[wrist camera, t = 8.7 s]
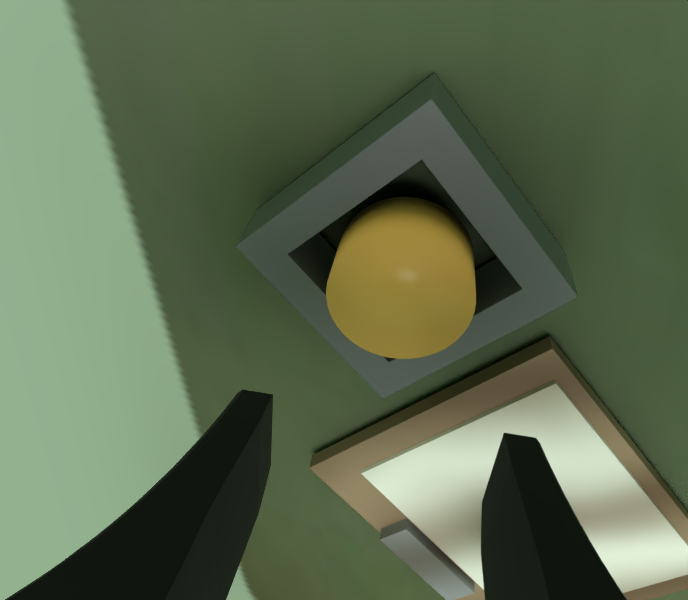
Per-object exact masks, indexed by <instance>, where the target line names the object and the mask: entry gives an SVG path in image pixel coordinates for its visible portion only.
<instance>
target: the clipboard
mask: <svg viewBox="0 0 688 600" xmlns="http://www.w3.org/2000/svg"><path fill="white" fill-rule="evenodd" d="M504 433H510V434H516V435H522V436H528V437H534V438H536V439H537V440H538V441H539V442H540V444H541V446H542V449H543V451H544V453H545V455H546V457H547V460H548V462H549V464H550V466H551V468H552V470H553V472H554V474H555V476H556V478H557V480H558V482H559V484H560V486H561V488H562V490H563V492H564V494H565V496H566V498H567V500H568V502H569V504H570V506H571V508H572V509H573V511H574V513H575V515H576V517H577V519H578V520H579V522H580V524H581V526H582V527H583V529H584V531H585V533H586V534H587V536H588V538H589V540H590V542H591V543H592V545H593V547H594V548H595V550H596V552H597V553H598V555H599V557H600V558H601V560H602V562H603V563H604V565H605V566H606V568H607V570H608V571H609V573H610V574H611V576H612V577H613V579H614V581H615V582H616V584H617V585H618V587H619V588H620V590H621V591H622V593H623V594H624V596H625V597H626V599H627V600H650V599H653V598H657V597H660V596H664V595H668V594H671V593H675V592H678V591H682V590H686V589H688V511H687V510H686V509H685V507H684V506H683V505H682V504H681V502H680V501H679V500H678V498H677V497H676V496H675V495H674V493H673V492H672V491H671V490H670V488H669V487H668V486H667V484H666V483H665V482H664V481H663V479H662V478H661V477H660V476H659V474H658V473H657V472H656V470H655V469H654V468H653V467H652V465H651V464H650V463H649V462H648V460H647V459H646V458H645V456H644V455H643V454H642V453H641V451H640V450H639V449H638V448H637V446H636V445H635V444H634V442H633V441H632V440H631V439H630V437H629V436H628V435H627V434H626V432H625V431H624V430H623V428H622V427H621V426H620V425H619V423H618V422H617V421H616V420H615V418H614V417H613V416H612V414H611V413H610V412H609V411H608V409H607V408H606V407H605V406H604V404H603V403H602V402H601V400H600V399H599V398H598V397H597V395H596V394H595V393H594V392H593V390H592V389H591V388H590V386H589V385H588V384H587V383H586V381H585V380H584V379H583V378H582V376H581V375H580V374H579V372H578V371H577V370H576V369H575V367H574V366H573V365H572V364H571V362H570V361H569V360H568V358H567V357H566V356H565V355H564V353H563V352H562V351H561V350H560V348H559V347H558V346H557V344H556V343H555V342H554V341H553V339H552V338H551V337H550V336H549V337H547V338H545V339H543V340H541V341H539V342H537V343H535V344H533V345H531V346H529V347H527V348H525V349H523V350H521V351H519V352H517V353H515V354H513V355H511V356H509V357H507V358H505V359H503V360H501V361H499V362H497V363H495V364H493V365H491V366H489V367H487V368H485V369H483V370H481V371H479V372H478V373H476V374H474V375H472V376H470V377H468V378H466V379H464V380H462V381H460V382H458V383H456V384H454V385H452V386H450V387H448V388H446V389H444V390H442V391H440V392H438V393H436V394H434V395H432V396H430V397H428V398H426V399H424V400H422V401H420V402H418V403H416V404H414V405H412V406H410V407H408V408H406V409H404V410H402V411H400V412H398V413H396V414H394V415H392V416H390V417H388V418H386V419H384V420H382V421H380V422H378V423H376V424H374V425H372V426H370V427H368V428H366V429H364V430H362V431H360V432H358V433H356V434H354V435H352V436H350V437H348V438H346V439H344V440H342V441H340V442H338V443H336V444H334V445H332V446H330V447H328V448H326V449H324V450H322V451H320V452H318V453H316V454H314V455H312V459H311V463H310V467H309V468H310V469H311V470H312V471H313V472H314V473H315V474H316V475H317V476H319V477H320V478H321V479H322V480H323V481H324V482H325V483H326V484H327V485H328V486H330V487H331V488H332V489H333V490H334V491H335V492H336V493H337V494H338V495H339V496H341V497H342V498H343V499H344V500H345V501H346V502H347V503H348V504H349V505H350V506H351V507H353V508H354V509H355V510H356V511H357V512H358V513H359V514H360V515H361V516H362V517H364V518H365V519H366V520H367V521H368V522H369V523H370V524H371V525H372V526H373V527H374V528H376V529H377V530H378V531H379V532H380V533H381V535H380V540H381V541H382V542H383V543H384V544H385V545H386V546H387V547H389V548H390V549H391V550H392V551H393V552H394V553H395V554H396V555H397V556H398V557H400V558H401V559H402V560H403V561H404V562H405V563H406V564H407V565H408V566H409V567H411V568H412V569H413V570H414V571H415V572H416V573H417V574H418V575H419V576H421V577H422V578H423V579H424V580H425V581H426V582H427V583H428V584H429V585H430V586H432V587H433V588H434V589H435V590H436V591H437V592H438V593H439V594H440V595H441V596H443V597H444V598H445V599H446V600H485V594H484V583H483V572H482V561H481V515H482V500H483V497H484V494H485V490H486V487H487V484H488V481H489V478H490V475H491V472H492V468H493V465H494V462H495V459H496V456H497V453H498V449H499V446H500V443H501V440H502V437H503V434H504Z"/></svg>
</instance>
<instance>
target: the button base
mask: <svg viewBox="0 0 688 600" xmlns="http://www.w3.org/2000/svg"><path fill="white" fill-rule="evenodd" d="M420 160H423V162H424V163H425V164H426V166H427V167H428V168H429V169H430V171H431V172H432V173H433V175H434V176H435V177H436V178H437V180H438V181H439V182H440V184H441V185H442V186H443V187H444V189H445V190H446V191H447V193H448V194H449V195H450V196H451V198H452V199H453V200H454V202H455V203H456V204H457V205H458V207H459V208H460V209H461V211H462V212H463V213H464V214H465V216H466V217H467V218H468V220H469V221H470V222H471V223H472V225H473V226H474V227H475V229H476V230H477V231H478V232H479V234H480V235H481V236H482V238H483V239H484V240H485V241H486V243H487V244H488V245H489V247H490V248H491V249H492V250H493V252H494V253H495V254H496V256H497V258H496V259H494V260H492V261H491V262H489V263H487V264H485V265H484V266H482V267H480V268H479V269H477V270H475V285H476V306H475V312H474V315H473V318H472V320H471V322H470V324H469V326H468V328H467V329H466V331H465V332H464V333H463V334H462V335H461V337H460V338H459V339H458V340H456V341H455V342H454V343H453V344H451V345H450V346H448V347H447V348H445V349H444V350H441V351H439V352H437V353H435V354H432V355H429V356H425V357H420V358H413V359H396V358H389V357H384V356H380V355H377V354H374V353H371V352H369V351H367V350H364V349H363V348H361V347H359V346H357V345H356V344H355V343H353V342H352V341H350V340H349V339H348V338H347V337H346V336H345V335H344V334H343V333H342V332H341V331H340V329H339V328H338V327H337V325H336V324H335V322H334V321H333V319H332V317H331V314H330V312H329V309H328V305H327V299H326V287H327V281H328V278H329V275H330V271H331V268H332V265H333V262H334V259H335V255H336V251H335V250H334V249H333V248H332V247H331V246H330V245H329V244H328V243H327V241H326V240H325V239H324V238H323V237H322V236H321V235H320V234H319V232H320V231H321V230H323V229H324V228H325V227H327V226H328V225H330V224H331V223H332V222H334V221H335V220H337V219H338V218H340V217H341V216H342V215H344V214H345V213H347V212H348V211H349V210H351V209H352V208H354V207H355V206H356V205H358V204H359V203H361V202H362V201H364V200H365V199H366V198H368V197H369V196H371V195H372V194H373V193H375V192H376V191H378V190H379V189H381V188H382V187H383V186H385V185H386V184H388V183H389V182H390V181H392V180H393V179H395V178H396V177H398V176H399V175H400V174H402V173H403V172H405V171H406V170H407V169H409V168H410V167H412V166H413V165H414V164H416V163H417V162H419V161H420ZM235 247H236V248H237V249H238V250H239V251H240V252H241V253H242V254H243V255H244V256H245V257H246V258H247V259H248V260H249V261H250V262H251V263H252V264H253V265H254V266H255V267H256V268H257V269H258V270H259V271H260V273H261V274H262V275H263V276H264V277H265V278H266V279H267V280H268V281H269V282H270V283H271V284H272V285H273V286H274V287H275V288H276V289H277V290H278V291H279V292H280V293H281V294H282V295H283V296H284V297H285V298H286V299H287V300H288V301H289V302H290V303H291V305H292V306H293V307H294V308H295V309H296V310H297V311H298V312H299V313H300V314H301V315H302V316H303V317H304V318H305V319H306V320H307V321H308V322H309V323H310V324H311V325H312V326H313V327H314V328H315V329H316V330H317V331H318V332H319V333H320V334H321V335H322V336H323V338H324V339H325V340H326V341H327V342H328V343H329V344H330V345H331V346H332V347H333V348H334V349H335V350H336V351H337V352H338V353H339V354H340V355H341V356H342V357H343V358H344V359H345V360H346V361H347V362H348V363H349V364H350V365H351V366H352V367H353V368H354V370H355V371H356V372H357V373H358V374H359V375H360V376H361V377H362V378H363V379H364V380H365V381H366V382H367V383H368V384H369V385H370V386H371V387H372V388H373V389H374V390H375V391H376V392H377V393H378V394H379V395H380V396H381V397H382V398H383V399H384V398H385V397H387V396H389V395H391V394H393V393H395V392H397V391H399V390H401V389H403V388H405V387H407V386H409V385H410V384H412V383H414V382H416V381H418V380H420V379H422V378H424V377H426V376H428V375H430V374H432V373H434V372H435V371H437V370H439V369H441V368H443V367H445V366H447V365H449V364H451V363H453V362H455V361H457V360H459V359H460V358H462V357H464V356H466V355H468V354H470V353H472V352H474V351H476V350H478V349H480V348H482V347H484V346H485V345H487V344H489V343H491V342H493V341H495V340H497V339H499V338H501V337H503V336H505V335H507V334H509V333H510V332H512V331H514V330H516V329H518V328H520V327H522V326H524V325H526V324H528V323H530V322H532V321H534V320H535V319H537V318H539V317H541V316H543V315H545V314H547V313H549V312H551V311H553V310H555V309H557V308H559V307H561V306H562V305H564V304H566V303H568V302H570V301H572V300H574V299H576V298H578V295H577V292H576V288H575V285H574V281H573V278H572V274H571V271H570V268H569V264H568V261H567V257H566V254H565V253H564V251H563V250H562V248H561V247H560V246H559V244H558V243H557V242H556V240H555V239H554V237H553V236H552V235H551V233H550V232H549V231H548V229H547V228H546V226H545V225H544V224H543V222H542V221H541V219H540V218H539V217H538V215H537V214H536V213H535V211H534V210H533V208H532V207H531V206H530V204H529V203H528V202H527V200H526V199H525V197H524V196H523V195H522V193H521V192H520V191H519V189H518V188H517V186H516V185H515V184H514V182H513V181H512V179H511V178H510V177H509V175H508V174H507V173H506V171H505V170H504V168H503V167H502V166H501V164H500V163H499V162H498V160H497V159H496V157H495V156H494V155H493V153H492V152H491V151H490V149H489V148H488V146H487V145H486V144H485V142H484V141H483V140H482V138H481V137H480V135H479V134H478V133H477V131H476V130H475V128H474V127H473V126H472V124H471V123H470V122H469V120H468V119H467V117H466V116H465V115H464V113H463V112H462V111H461V109H460V108H459V106H458V105H457V104H456V102H455V101H454V100H453V98H452V97H451V95H450V94H449V93H448V91H447V90H446V88H445V87H444V86H443V84H442V83H441V82H440V80H439V79H438V77H437V76H436V75H435V73H433V74H432V75H431V76H429V77H428V78H427V79H425V80H424V81H423V82H422V83H420V84H419V85H418V86H416V87H415V88H414V89H413V90H411V91H410V92H409V93H407V94H406V95H405V96H403V97H402V98H401V99H400V100H398V101H397V102H396V103H394V104H393V105H392V106H391V107H389V108H388V109H387V110H385V111H384V112H383V113H381V114H380V115H379V116H378V117H376V118H375V119H374V120H372V121H371V122H370V123H369V124H367V125H366V126H365V127H363V128H362V129H361V130H360V131H358V132H357V133H356V134H354V135H353V136H352V137H350V138H349V139H348V140H347V141H345V142H344V143H343V144H341V145H340V146H339V147H338V148H336V149H335V150H334V151H332V152H331V153H330V154H328V155H327V156H326V157H325V158H323V159H322V160H321V161H319V162H318V163H317V164H316V165H314V166H313V167H312V168H310V169H309V170H308V171H306V172H305V173H304V174H303V175H301V176H300V177H299V178H297V179H296V180H295V181H294V182H292V183H291V184H290V185H288V186H287V187H286V188H284V189H283V190H282V191H281V192H279V193H278V194H277V195H275V196H274V197H273V198H272V199H270V200H269V201H268V202H266V203H265V204H264V205H262V206H261V207H260V208H259V209H257V211H256V212H255V214H254V216H253V217H252V219H251V221H250V222H249V224H248V226H247V228H246V229H245V231H244V233H243V234H242V236H241V238H240V239H239V241H238V243H237V245H236V246H235Z"/></svg>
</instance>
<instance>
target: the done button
mask: <svg viewBox="0 0 688 600" xmlns="http://www.w3.org/2000/svg"><path fill="white" fill-rule="evenodd" d="M326 299H327V305H328V309H329V312H330V314H331V317H332V319H333V321H334V322H335V324H336V325H337V327H338V328H339V329H340V331H341V332H342V333H343V334H344V335H345V336H346V337H347V338H348V339H349V340H350V341H352V342H353V343H355V344H356V345H357V346H359V347H361V348H363V349H364V350H367V351H369V352H371V353H374V354H377V355H380V356H384V357H389V358H396V359H413V358H420V357H425V356H429V355H432V354H435V353H437V352H439V351H441V350H444V349H445V348H447V347H448V346H450V345H451V344H453V343H454V342H455V341H456V340H458V339H459V338H460V337H461V335H462V334H463V333H464V332H465V331H466V329H467V328H468V326H469V324H470V322H471V320H472V318H473V315H474V312H475V306H476V285H475V265H474V251H473V245H472V242H471V239H470V237H469V234H468V232H467V230H466V229H465V227H464V226H463V225H462V223H461V222H460V221H459V220H458V219H457V218H456V217H455V216H454V215H453V214H452V213H451V212H449V211H448V210H446V209H445V208H443V207H442V206H440V205H438V204H435V203H433V202H430V201H427V200H424V199H419V198H414V197H395V198H389V199H385V200H381V201H378V202H376V203H374V204H371V205H369V206H368V207H366V208H364V209H363V210H361V211H360V212H359V213H358V214H356V215H355V216H354V218H353V219H352V220H351V221H350V222H349V224H348V225H347V226H346V228H345V230H344V232H343V234H342V237H341V240H340V243H339V246H338V249H337V252H336V255H335V259H334V262H333V265H332V268H331V271H330V275H329V278H328V281H327V287H326Z"/></svg>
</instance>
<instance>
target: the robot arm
mask: <svg viewBox="0 0 688 600" xmlns="http://www.w3.org/2000/svg"><path fill="white" fill-rule="evenodd" d="M272 408H273V395H272V394H266V393H260V392H254V391H248V390H242V391H240V392H238V393H237V394H236V396H235V397H234V398H233V400H232V401H231V402H230V404H229V405H228V406H227V407H226V409H225V410H224V411H223V412H222V414H221V415H220V416H219V417H218V418H217V420H216V421H215V422H214V423H213V424H212V425H211V427H210V428H209V429H208V430H207V431H206V432H205V433H204V435H203V436H202V437H201V438H200V439H199V440H198V441H197V442H196V443H195V445H194V446H193V447H192V448H191V449H190V450H189V451H188V452H187V453H186V454H185V455H184V456H183V457H182V459H180V461H179V462H178V463H177V464H176V465H175V466H174V467H173V468H172V469H171V470H170V471H169V472H168V473H167V474H166V475H165V476H164V477H162V478H161V480H159V481H158V482H157V483H156V484H155V485H154V486H153V487H152V488H151V489H150V490H149V491H148V492H147V493H146V494H145V495H144V496H143V497H142V498H141V499H139V500H138V501H137V502H136V503H135V504H134V505H133V506H132V507H130V508H129V509H128V510H127V511H126V512H125V513H124V514H122V515H121V516H120V517H119V518H118V519H116V520H115V521H114V522H113V523H112V524H110V525H109V526H108V527H107V528H106V529H104V530H103V531H102V532H101V533H99V534H98V535H97V536H96V537H94V538H93V539H92V540H90V541H89V542H88V543H87V544H85V545H84V546H83V547H81V548H80V549H78V550H77V551H76V552H74V553H73V554H72V555H71V556H69V557H68V558H66V559H65V560H64V561H62V562H61V563H60V564H58V565H57V566H55V567H54V568H53V569H51V570H50V571H48V572H47V573H45V574H44V575H42V576H41V577H40V578H38V579H36V580H35V581H33V582H32V583H30V584H29V585H27V586H26V587H24V588H22V589H21V590H19V591H18V592H16V593H15V594H13V595H12V596H10V597H9V598H7V599H5V600H226V598H227V595H228V593H229V590H230V588H231V585H232V582H233V579H234V577H235V574H236V572H237V569H238V566H239V564H240V561H241V559H242V556H243V553H244V551H245V548H246V545H247V543H248V540H249V537H250V535H251V532H252V529H253V527H254V524H255V521H256V519H257V516H258V513H259V509H260V505H261V502H262V498H263V494H264V490H265V486H266V482H267V478H268V474H269V470H270V466H271V439H272ZM481 561H482V572H483V583H484V594H485V600H627V599H626V597H625V596H624V594H623V593H622V591H621V590H620V588H619V587H618V585H617V584H616V582H615V581H614V579H613V577H612V576H611V574H610V573H609V571H608V570H607V568H606V566H605V565H604V563H603V562H602V560H601V558H600V557H599V555H598V553H597V552H596V550H595V548H594V547H593V545H592V543H591V542H590V540H589V538H588V536H587V534H586V533H585V531H584V529H583V527H582V526H581V524H580V522H579V520H578V519H577V517H576V515H575V513H574V511H573V509H572V508H571V506H570V504H569V502H568V500H567V498H566V496H565V494H564V492H563V490H562V488H561V486H560V484H559V482H558V480H557V478H556V476H555V474H554V472H553V470H552V468H551V466H550V464H549V462H548V460H547V457H546V455H545V453H544V451H543V449H542V446H541V444H540V442H539V441H538V440H537V439H536V438H534V437H528V436H522V435H516V434H510V433H504V434H503V437H502V440H501V443H500V446H499V449H498V453H497V456H496V459H495V462H494V465H493V468H492V472H491V475H490V478H489V481H488V484H487V487H486V490H485V494H484V497H483V500H482V515H481Z"/></svg>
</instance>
